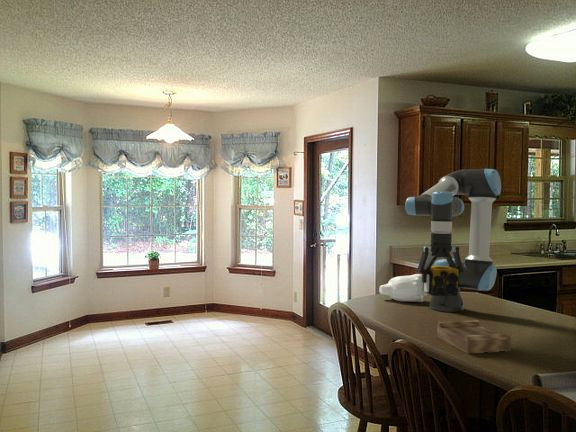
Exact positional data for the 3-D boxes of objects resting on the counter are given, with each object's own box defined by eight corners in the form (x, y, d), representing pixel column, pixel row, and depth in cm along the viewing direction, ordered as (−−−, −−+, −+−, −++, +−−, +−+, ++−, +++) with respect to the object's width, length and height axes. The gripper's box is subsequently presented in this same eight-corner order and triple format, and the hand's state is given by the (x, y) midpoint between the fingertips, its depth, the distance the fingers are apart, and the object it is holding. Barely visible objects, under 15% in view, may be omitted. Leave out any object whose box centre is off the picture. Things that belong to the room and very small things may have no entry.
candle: (421, 291, 191) (422, 265, 191) (447, 291, 192) (447, 265, 192) (431, 296, 181) (432, 269, 181) (458, 296, 182) (459, 269, 182)
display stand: (476, 334, 185) (476, 320, 185) (510, 351, 166) (511, 334, 166) (437, 336, 182) (437, 321, 182) (467, 353, 163) (467, 336, 162)
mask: (381, 301, 257) (431, 301, 249) (377, 303, 243) (430, 302, 235) (380, 274, 258) (430, 273, 250) (376, 274, 245) (428, 273, 237)
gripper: (463, 231, 192) (462, 288, 193) (408, 231, 188) (407, 290, 188) (474, 233, 184) (473, 292, 185) (417, 233, 180) (415, 293, 181)
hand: (439, 291), depth 187 cm, fingers closed on candle, 10 cm apart
